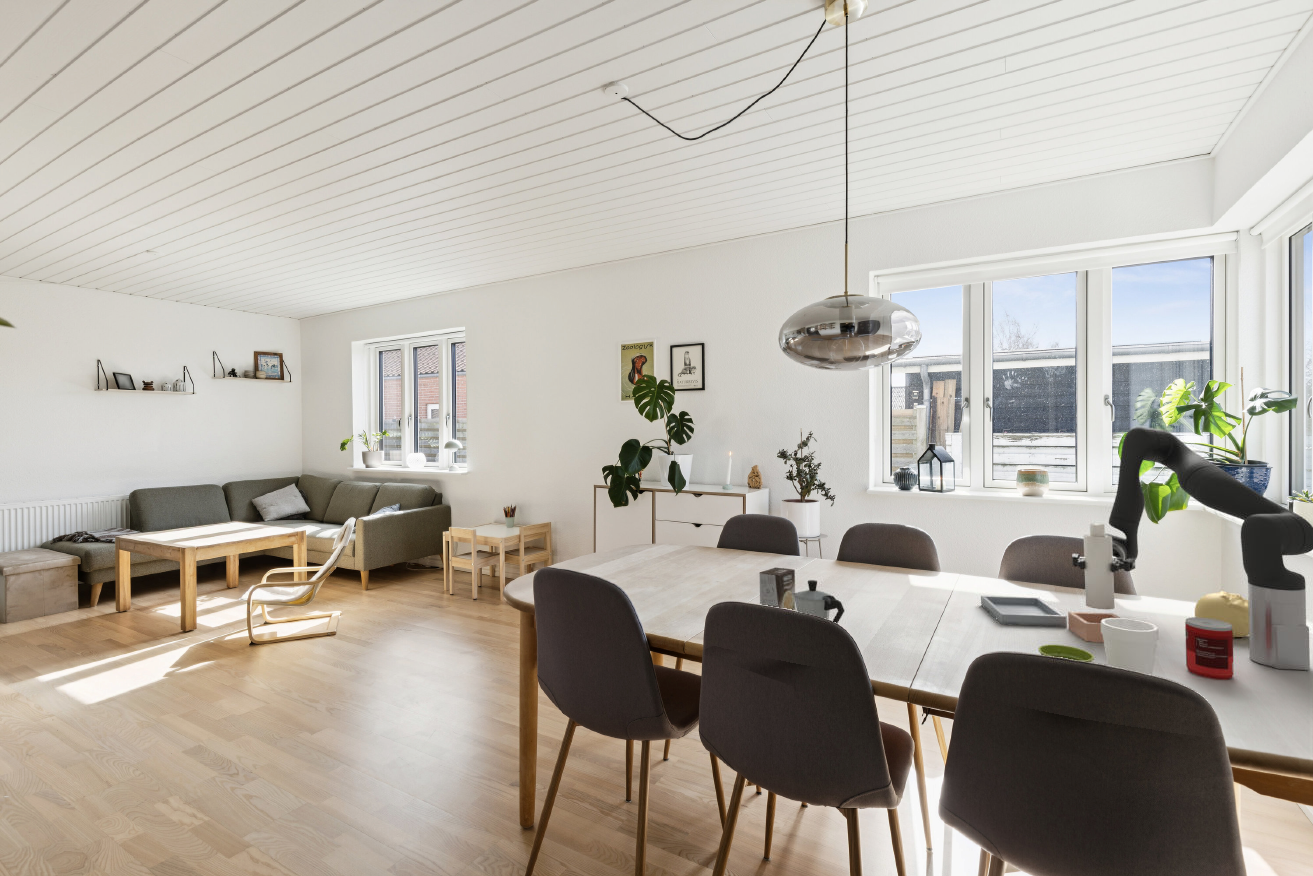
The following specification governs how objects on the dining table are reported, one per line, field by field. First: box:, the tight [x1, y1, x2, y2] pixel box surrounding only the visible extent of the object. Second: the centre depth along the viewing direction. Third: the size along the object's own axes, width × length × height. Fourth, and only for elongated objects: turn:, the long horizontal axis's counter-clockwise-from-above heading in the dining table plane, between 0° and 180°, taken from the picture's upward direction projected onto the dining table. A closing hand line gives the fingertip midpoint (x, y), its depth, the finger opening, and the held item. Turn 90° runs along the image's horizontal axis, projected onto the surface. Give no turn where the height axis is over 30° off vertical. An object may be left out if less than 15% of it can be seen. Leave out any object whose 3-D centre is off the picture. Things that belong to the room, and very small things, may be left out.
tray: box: [980, 595, 1068, 628], centre depth 182 cm, size 20×16×3 cm
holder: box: [1067, 611, 1121, 643], centre depth 162 cm, size 10×10×4 cm
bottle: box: [1082, 523, 1115, 610], centre depth 162 cm, size 6×6×21 cm
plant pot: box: [1037, 644, 1095, 663], centre depth 127 cm, size 9×9×9 cm
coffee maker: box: [792, 579, 845, 624], centre depth 153 cm, size 15×9×18 cm, turn 40°
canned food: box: [1184, 616, 1234, 681], centre depth 136 cm, size 8×8×11 cm
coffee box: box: [759, 567, 796, 611], centre depth 175 cm, size 9×6×16 cm
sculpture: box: [1194, 590, 1249, 638], centre depth 161 cm, size 12×12×11 cm
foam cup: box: [1101, 617, 1159, 676], centre depth 130 cm, size 10×9×13 cm
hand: (1097, 566), depth 160 cm, fingers closed on bottle, 6 cm apart
